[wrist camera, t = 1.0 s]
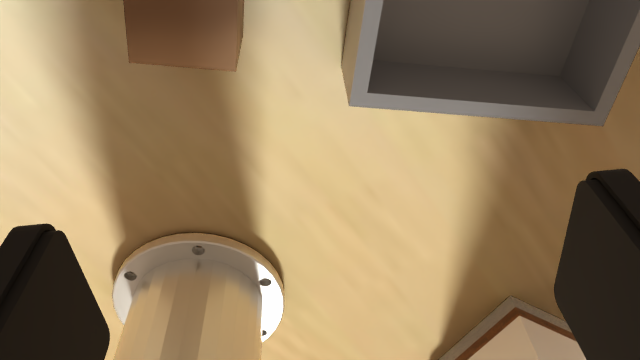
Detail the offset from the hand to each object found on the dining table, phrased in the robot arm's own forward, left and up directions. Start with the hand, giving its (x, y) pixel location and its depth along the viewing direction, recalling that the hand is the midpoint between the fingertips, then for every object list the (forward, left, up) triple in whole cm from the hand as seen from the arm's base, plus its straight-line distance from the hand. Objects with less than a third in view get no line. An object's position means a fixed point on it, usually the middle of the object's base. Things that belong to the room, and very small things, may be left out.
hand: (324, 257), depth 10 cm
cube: (-2, +5, -22) cm, 23 cm away
